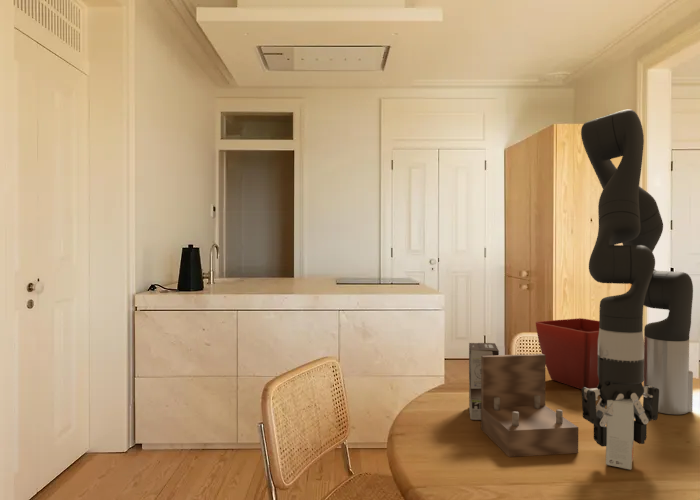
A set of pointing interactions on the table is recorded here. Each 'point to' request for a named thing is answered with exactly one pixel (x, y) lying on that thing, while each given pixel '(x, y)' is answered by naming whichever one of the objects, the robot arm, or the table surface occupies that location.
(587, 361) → the plant pot
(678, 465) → the table surface
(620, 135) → the robot arm
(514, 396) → the peg shelf stand
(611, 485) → the table surface
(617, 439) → the skincare box
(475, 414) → the coffee box
